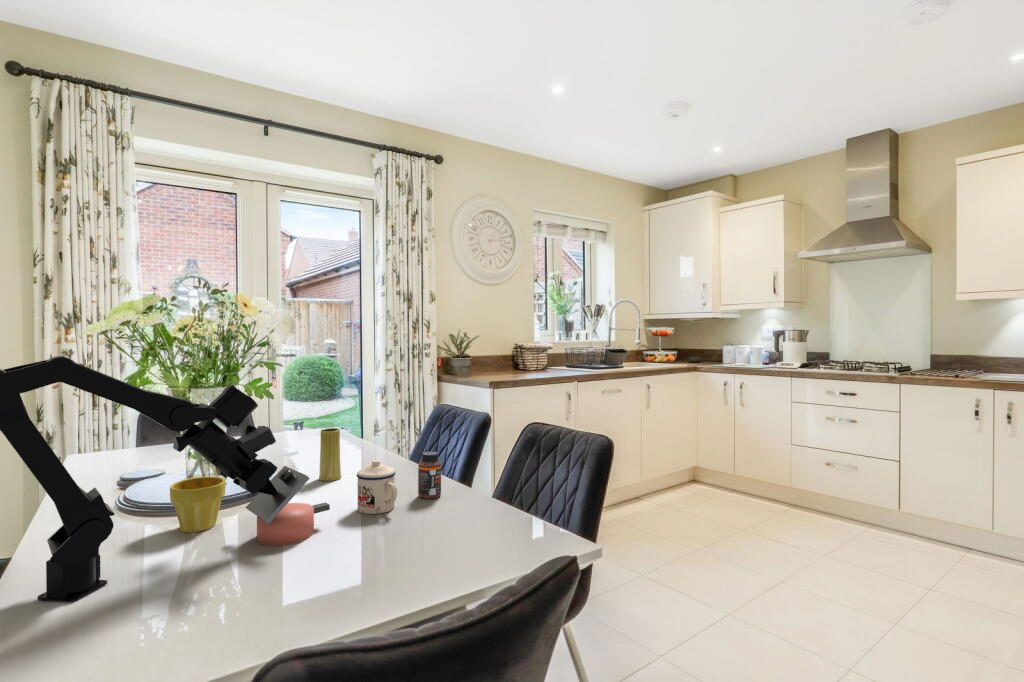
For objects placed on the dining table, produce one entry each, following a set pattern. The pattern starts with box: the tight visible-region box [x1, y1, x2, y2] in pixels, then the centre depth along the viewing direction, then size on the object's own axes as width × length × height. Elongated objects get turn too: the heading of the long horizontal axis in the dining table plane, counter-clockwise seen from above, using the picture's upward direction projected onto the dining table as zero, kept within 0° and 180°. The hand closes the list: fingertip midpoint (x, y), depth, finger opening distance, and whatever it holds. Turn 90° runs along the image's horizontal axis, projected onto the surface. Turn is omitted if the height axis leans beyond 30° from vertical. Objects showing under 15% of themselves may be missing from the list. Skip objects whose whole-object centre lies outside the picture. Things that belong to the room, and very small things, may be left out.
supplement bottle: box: [417, 451, 442, 500], centre depth 138 cm, size 6×6×11 cm
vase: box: [318, 427, 342, 482], centre depth 153 cm, size 6×6×14 cm
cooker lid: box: [245, 465, 311, 524], centre depth 109 cm, size 11×11×3 cm
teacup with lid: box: [356, 459, 398, 515], centre depth 127 cm, size 12×9×12 cm
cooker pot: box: [256, 502, 331, 547], centre depth 112 cm, size 15×11×5 cm
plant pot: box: [169, 475, 226, 533], centre depth 115 cm, size 10×10×10 cm
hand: (274, 493), depth 109 cm, fingers closed, pressing on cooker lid
